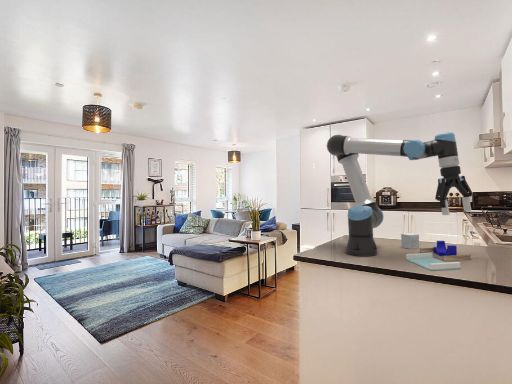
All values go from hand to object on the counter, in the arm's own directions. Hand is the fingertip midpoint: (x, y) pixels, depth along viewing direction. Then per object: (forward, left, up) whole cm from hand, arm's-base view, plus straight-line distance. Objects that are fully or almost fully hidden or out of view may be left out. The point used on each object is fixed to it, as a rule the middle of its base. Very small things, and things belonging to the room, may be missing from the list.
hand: (457, 213), depth 124 cm
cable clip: (-4, -4, -20) cm, 21 cm away
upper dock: (-4, -4, -20) cm, 21 cm away
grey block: (-23, -8, -20) cm, 32 cm away
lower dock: (+7, -18, -20) cm, 28 cm away
